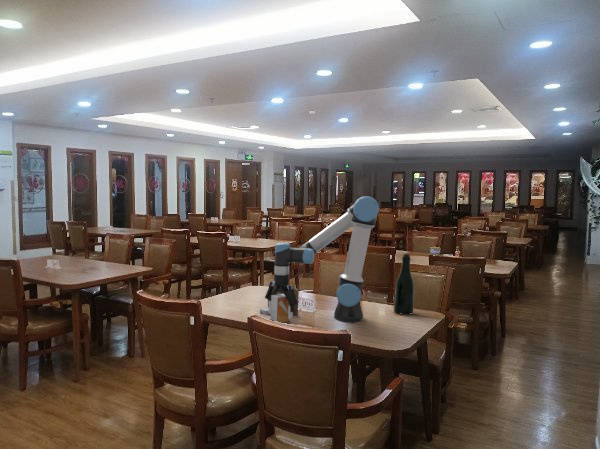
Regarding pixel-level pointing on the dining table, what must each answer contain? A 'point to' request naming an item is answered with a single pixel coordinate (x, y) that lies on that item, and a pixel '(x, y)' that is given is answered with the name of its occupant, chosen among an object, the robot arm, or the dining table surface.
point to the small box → (279, 308)
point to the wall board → (296, 291)
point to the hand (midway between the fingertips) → (280, 315)
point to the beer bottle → (404, 288)
